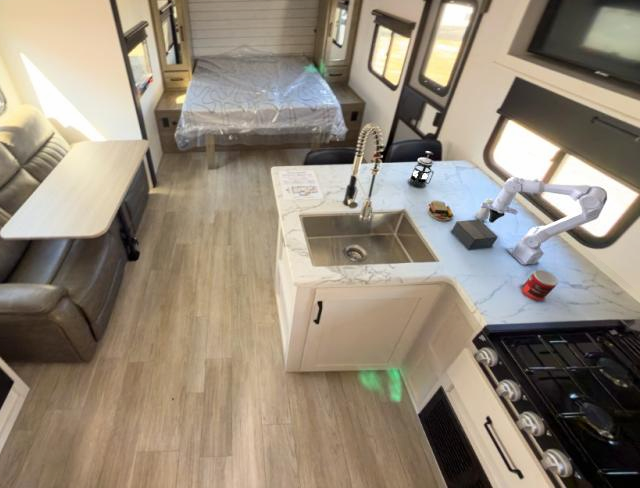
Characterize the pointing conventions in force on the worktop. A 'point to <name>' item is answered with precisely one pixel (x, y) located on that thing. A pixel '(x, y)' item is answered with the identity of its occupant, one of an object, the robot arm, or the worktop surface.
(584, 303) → the worktop surface
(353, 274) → the worktop surface
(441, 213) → the toy sandwich meal
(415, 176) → the french press
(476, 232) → the filter lid
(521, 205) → the worktop surface
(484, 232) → the grey hinged lid box
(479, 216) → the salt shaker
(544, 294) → the canned food
